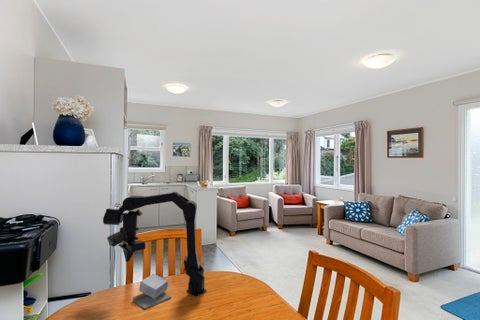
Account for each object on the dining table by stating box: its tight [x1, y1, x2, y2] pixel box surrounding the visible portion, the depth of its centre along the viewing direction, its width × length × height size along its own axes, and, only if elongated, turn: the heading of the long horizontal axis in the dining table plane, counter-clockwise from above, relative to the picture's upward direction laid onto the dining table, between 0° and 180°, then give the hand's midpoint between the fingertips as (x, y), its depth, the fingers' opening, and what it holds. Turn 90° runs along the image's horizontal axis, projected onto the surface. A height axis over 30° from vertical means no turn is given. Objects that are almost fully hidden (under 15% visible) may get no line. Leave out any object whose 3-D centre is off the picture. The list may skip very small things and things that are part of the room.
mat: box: [132, 292, 172, 311], centre depth 107 cm, size 12×9×2 cm
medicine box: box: [138, 273, 169, 299], centre depth 111 cm, size 8×4×9 cm
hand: (127, 261), depth 112 cm, fingers closed
